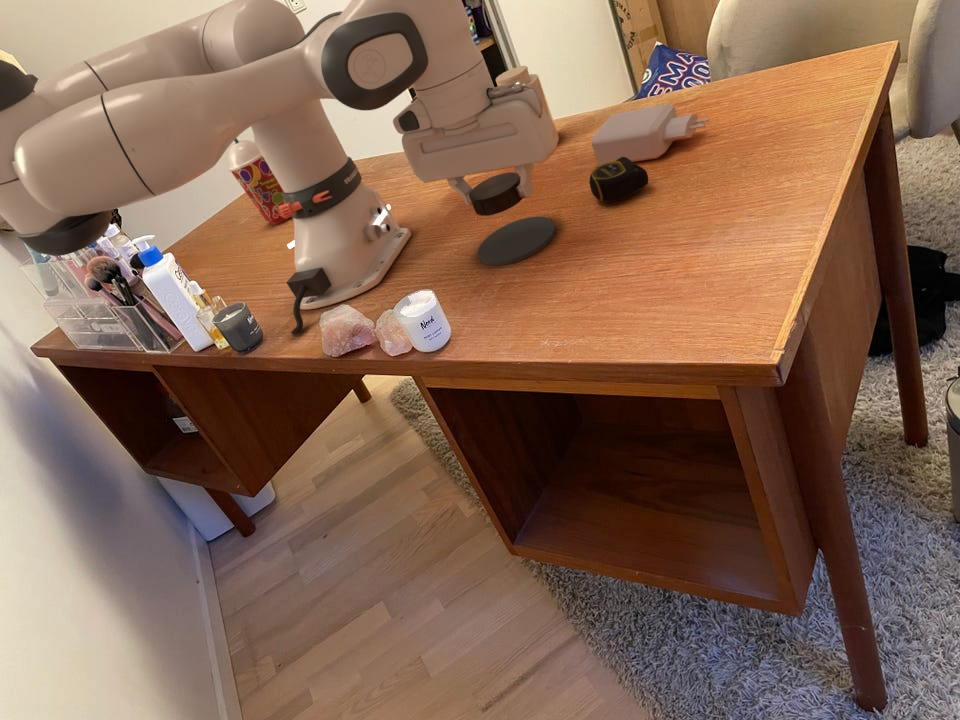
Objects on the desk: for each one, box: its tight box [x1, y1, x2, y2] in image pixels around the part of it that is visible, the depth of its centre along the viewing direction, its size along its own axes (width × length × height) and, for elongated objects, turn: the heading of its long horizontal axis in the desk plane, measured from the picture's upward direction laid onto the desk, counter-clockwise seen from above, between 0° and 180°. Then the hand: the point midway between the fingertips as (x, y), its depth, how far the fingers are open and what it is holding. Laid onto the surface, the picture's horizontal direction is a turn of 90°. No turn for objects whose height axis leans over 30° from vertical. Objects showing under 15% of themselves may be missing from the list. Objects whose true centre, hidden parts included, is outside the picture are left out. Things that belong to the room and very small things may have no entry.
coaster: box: [477, 216, 557, 266], centre depth 92 cm, size 11×11×1 cm
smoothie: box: [227, 137, 292, 226], centre depth 139 cm, size 8×8×20 cm
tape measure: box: [588, 157, 649, 203], centre depth 90 cm, size 7×7×4 cm
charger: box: [591, 103, 710, 167], centre depth 97 cm, size 5×9×15 cm
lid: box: [469, 171, 524, 217], centre depth 88 cm, size 7×7×2 cm
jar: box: [495, 65, 560, 142], centre depth 115 cm, size 8×8×13 cm
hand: (499, 199), depth 89 cm, fingers closed on lid, 7 cm apart
